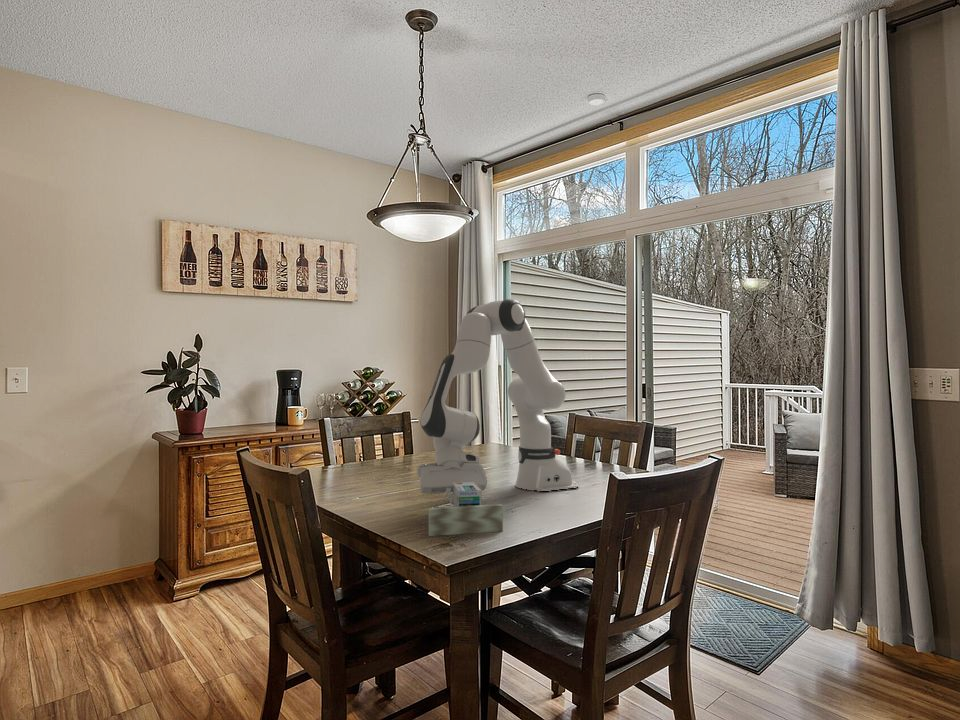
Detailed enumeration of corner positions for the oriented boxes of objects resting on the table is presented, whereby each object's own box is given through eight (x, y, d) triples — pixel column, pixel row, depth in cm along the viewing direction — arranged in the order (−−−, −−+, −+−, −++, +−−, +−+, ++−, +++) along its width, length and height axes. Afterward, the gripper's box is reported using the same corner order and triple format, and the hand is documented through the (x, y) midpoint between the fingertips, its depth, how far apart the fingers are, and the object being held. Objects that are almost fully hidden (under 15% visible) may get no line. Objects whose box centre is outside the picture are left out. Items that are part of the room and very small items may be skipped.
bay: (489, 516, 171) (489, 492, 171) (502, 531, 157) (502, 505, 157) (422, 520, 166) (422, 495, 166) (429, 536, 152) (429, 509, 152)
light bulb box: (482, 529, 159) (482, 489, 158) (458, 530, 157) (458, 491, 157) (474, 517, 169) (474, 481, 169) (451, 519, 168) (452, 482, 167)
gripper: (417, 458, 173) (421, 499, 164) (484, 456, 178) (491, 495, 168) (415, 470, 178) (419, 510, 168) (480, 467, 182) (487, 507, 173)
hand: (456, 503), depth 168 cm, fingers closed, pressing on light bulb box
